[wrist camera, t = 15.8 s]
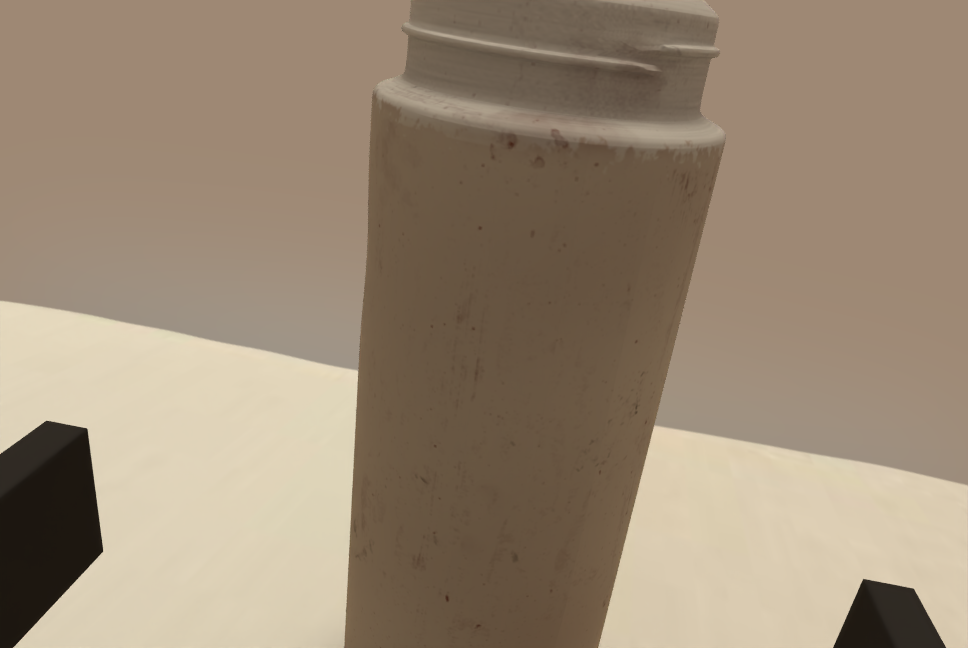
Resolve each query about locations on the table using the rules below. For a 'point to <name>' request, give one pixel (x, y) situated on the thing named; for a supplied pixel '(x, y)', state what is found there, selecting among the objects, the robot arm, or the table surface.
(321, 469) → the table surface
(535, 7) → the thermos bottle
